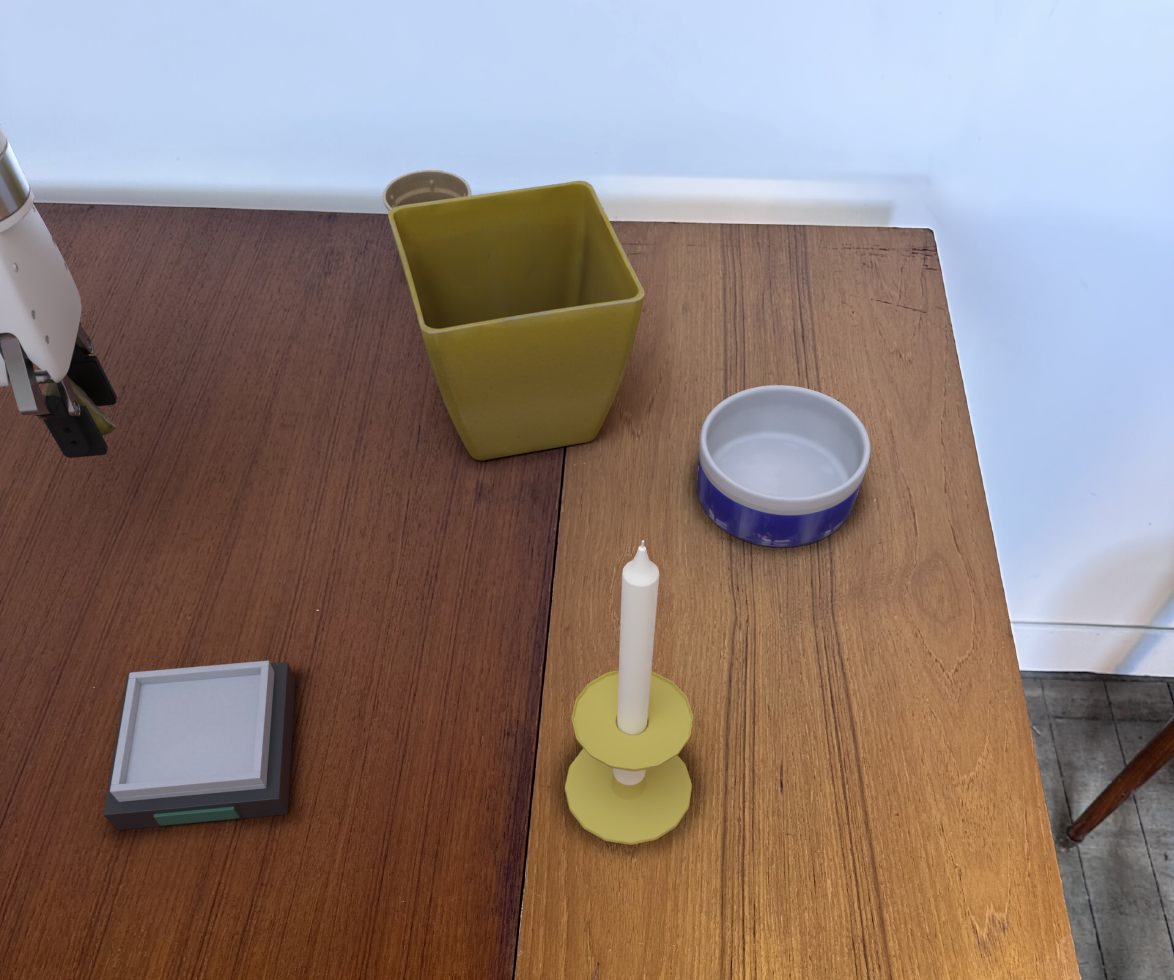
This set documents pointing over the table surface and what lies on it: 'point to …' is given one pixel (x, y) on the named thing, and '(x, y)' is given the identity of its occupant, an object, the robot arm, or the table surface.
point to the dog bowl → (781, 465)
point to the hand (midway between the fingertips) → (91, 426)
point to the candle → (631, 731)
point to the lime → (83, 400)
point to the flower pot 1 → (424, 188)
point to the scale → (202, 745)
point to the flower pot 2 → (521, 312)
